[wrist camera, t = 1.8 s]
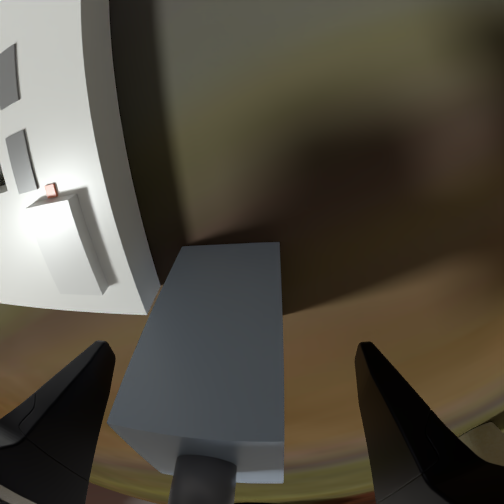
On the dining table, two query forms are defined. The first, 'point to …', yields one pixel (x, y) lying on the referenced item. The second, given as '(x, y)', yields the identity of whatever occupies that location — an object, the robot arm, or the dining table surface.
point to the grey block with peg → (210, 374)
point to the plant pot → (486, 442)
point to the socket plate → (66, 166)
